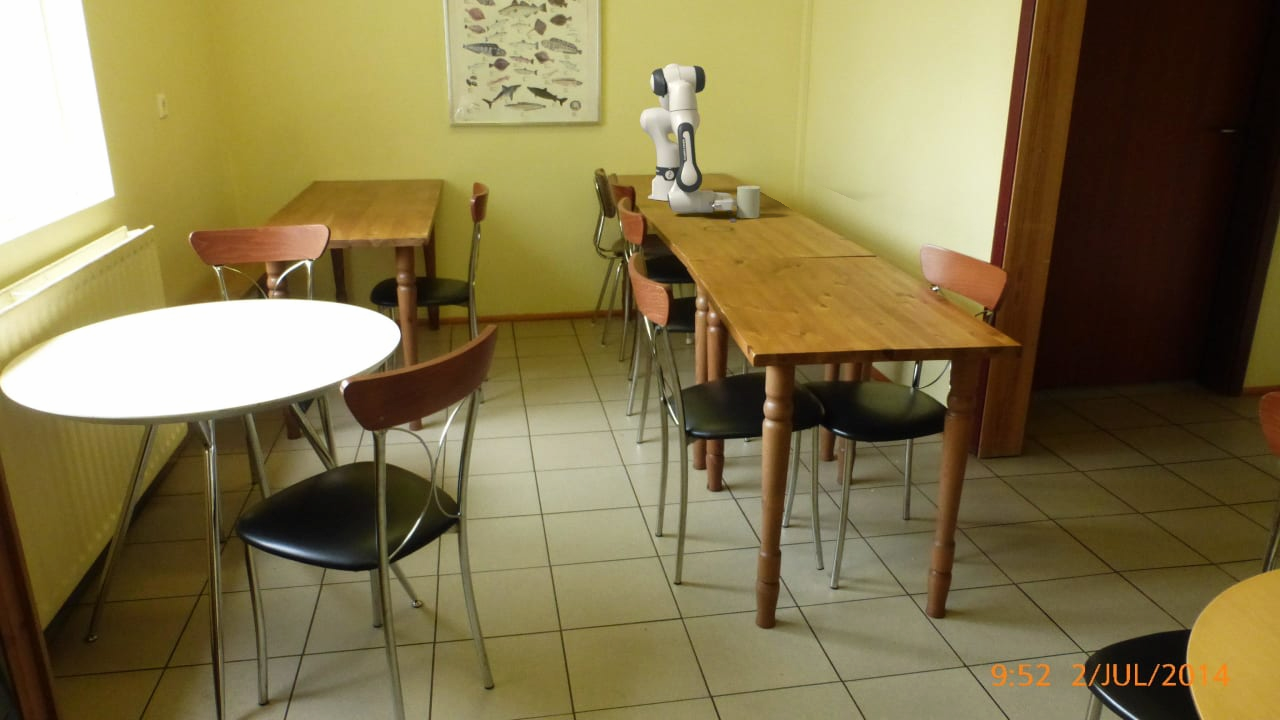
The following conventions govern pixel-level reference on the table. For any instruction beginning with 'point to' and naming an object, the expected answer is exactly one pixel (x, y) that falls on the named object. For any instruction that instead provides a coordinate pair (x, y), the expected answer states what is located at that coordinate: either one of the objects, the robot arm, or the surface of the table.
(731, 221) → the line strip
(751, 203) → the can
